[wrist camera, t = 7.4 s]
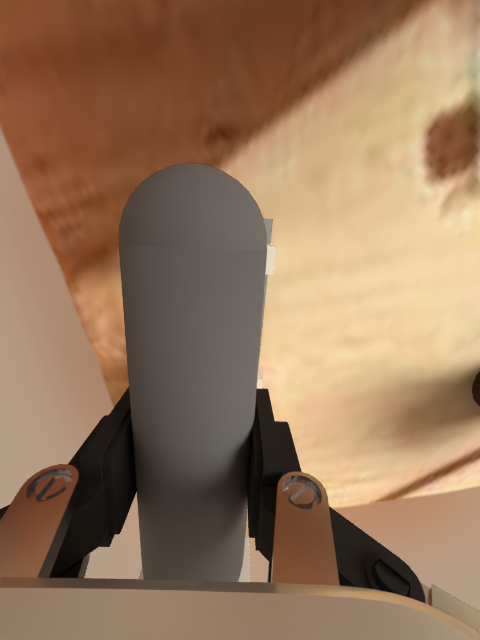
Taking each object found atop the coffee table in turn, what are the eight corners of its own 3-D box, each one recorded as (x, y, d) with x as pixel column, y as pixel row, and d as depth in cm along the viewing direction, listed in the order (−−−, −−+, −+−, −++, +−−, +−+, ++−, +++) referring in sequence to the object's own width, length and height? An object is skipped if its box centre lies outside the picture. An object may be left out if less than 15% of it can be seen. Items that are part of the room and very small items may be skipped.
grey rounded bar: (131, 175, 9) (23, 115, 5) (277, 184, 9) (317, 133, 5) (153, 576, 15) (115, 733, 10) (245, 578, 15) (248, 734, 10)
